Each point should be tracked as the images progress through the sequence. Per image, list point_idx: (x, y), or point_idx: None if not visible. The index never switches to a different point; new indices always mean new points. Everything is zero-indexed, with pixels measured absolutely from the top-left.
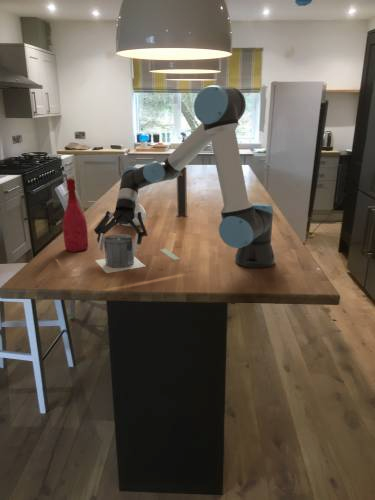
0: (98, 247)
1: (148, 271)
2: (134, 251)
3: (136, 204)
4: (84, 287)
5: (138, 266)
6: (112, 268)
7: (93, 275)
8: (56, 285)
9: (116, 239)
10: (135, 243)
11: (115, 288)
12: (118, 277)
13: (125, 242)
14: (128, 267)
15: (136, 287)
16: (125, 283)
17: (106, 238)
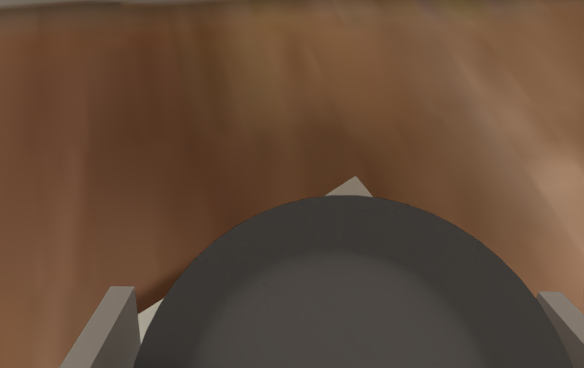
0: (560, 299)
1: (64, 297)
2: (134, 319)
3: None
4: (409, 26)
5: (142, 338)
6: None
7: (442, 181)
8: (570, 34)
9: (361, 316)
10: (89, 341)
11: (240, 30)
12: (265, 167)
13: (210, 254)
14: None
15: (126, 50)
16: (199, 90)
17: (533, 350)
